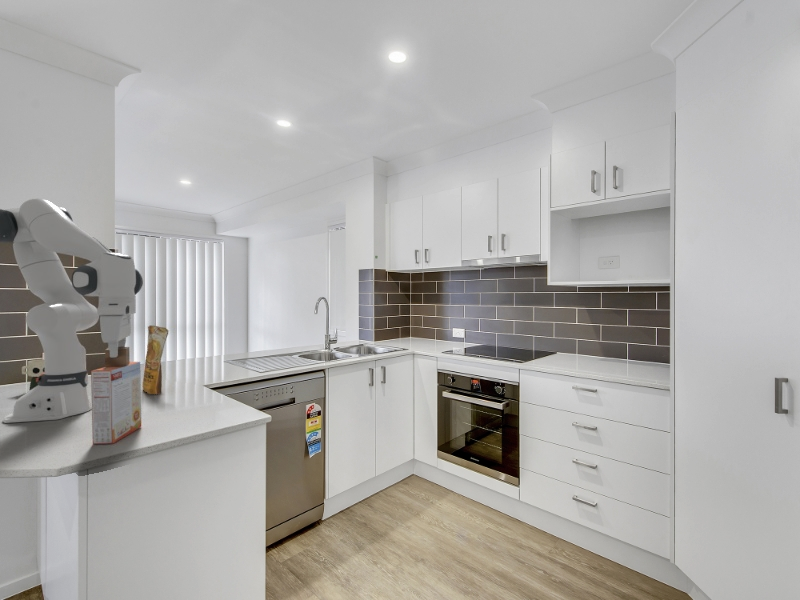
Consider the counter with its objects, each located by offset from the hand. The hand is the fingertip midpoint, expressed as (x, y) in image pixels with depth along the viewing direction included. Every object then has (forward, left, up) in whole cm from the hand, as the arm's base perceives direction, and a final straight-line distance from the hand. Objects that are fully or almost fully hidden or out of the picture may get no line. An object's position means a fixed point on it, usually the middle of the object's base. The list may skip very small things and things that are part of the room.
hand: (117, 354), depth 114 cm
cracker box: (0, 0, -24) cm, 24 cm away
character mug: (-41, +78, -24) cm, 91 cm away
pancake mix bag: (+3, +57, -24) cm, 62 cm away
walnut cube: (0, 0, -3) cm, 3 cm away
